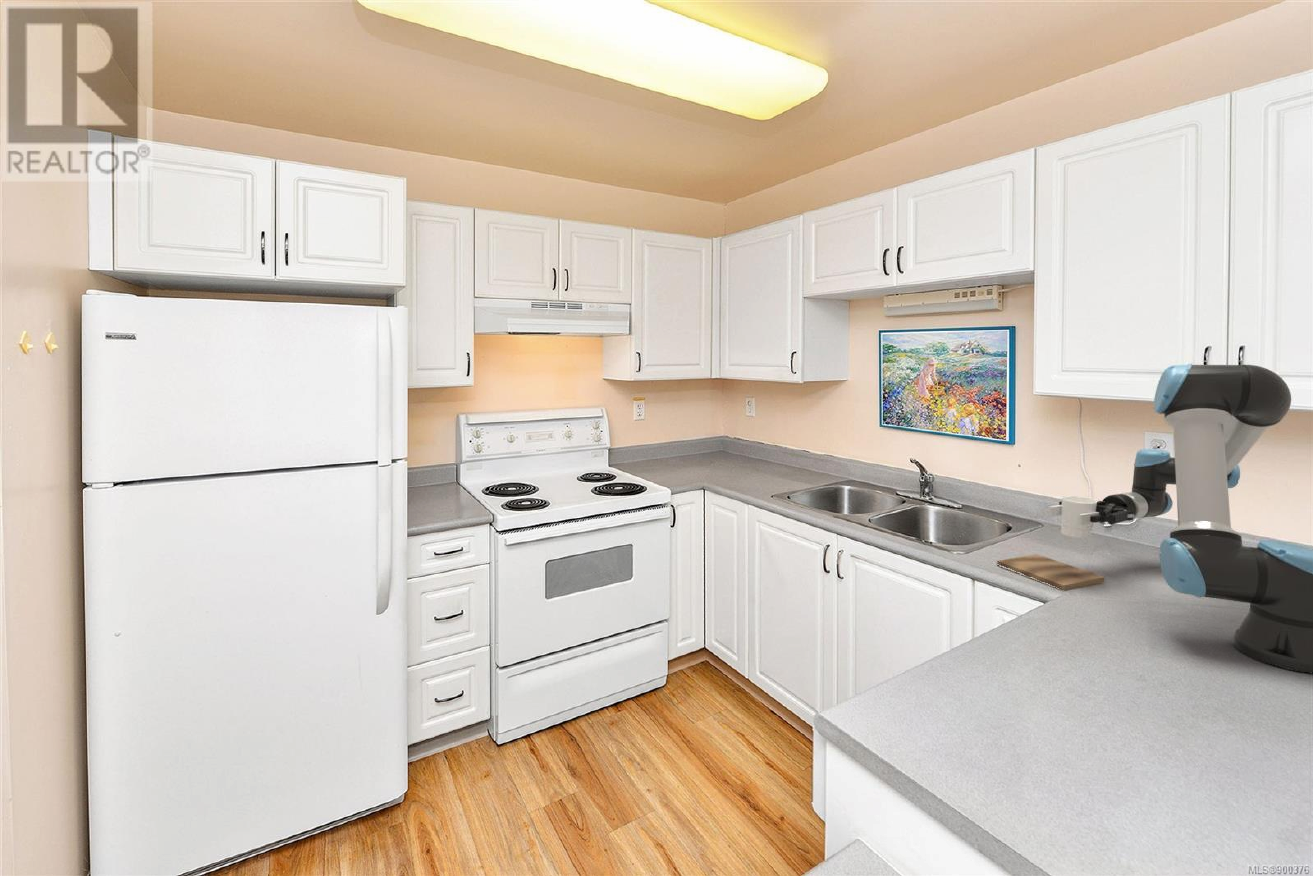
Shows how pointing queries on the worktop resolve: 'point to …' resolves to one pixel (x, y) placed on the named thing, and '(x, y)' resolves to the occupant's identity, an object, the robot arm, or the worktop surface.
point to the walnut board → (1052, 571)
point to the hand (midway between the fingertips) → (1064, 515)
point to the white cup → (1076, 516)
